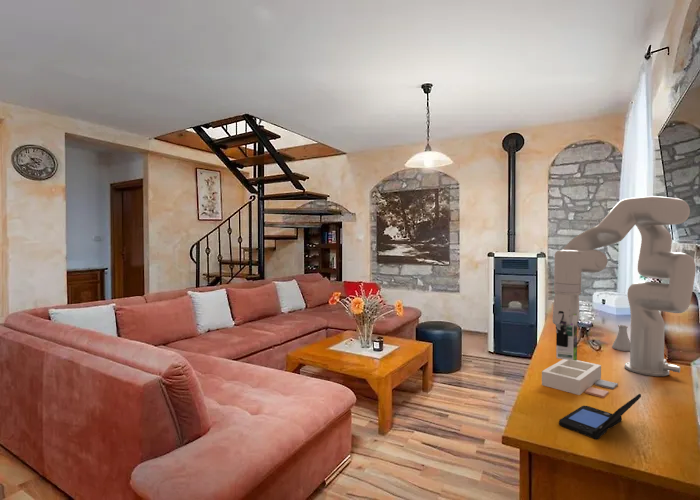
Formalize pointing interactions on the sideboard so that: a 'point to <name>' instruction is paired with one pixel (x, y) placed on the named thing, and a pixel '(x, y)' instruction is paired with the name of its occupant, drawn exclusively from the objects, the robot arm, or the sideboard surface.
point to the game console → (594, 419)
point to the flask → (622, 339)
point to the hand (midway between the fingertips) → (566, 343)
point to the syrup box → (569, 343)
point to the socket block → (576, 378)
